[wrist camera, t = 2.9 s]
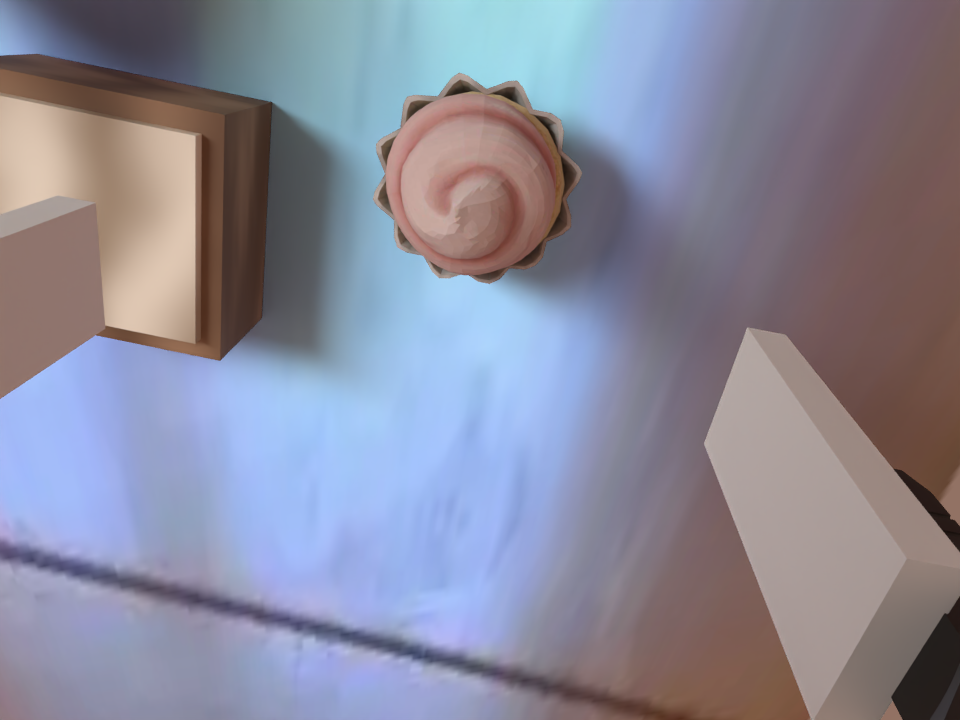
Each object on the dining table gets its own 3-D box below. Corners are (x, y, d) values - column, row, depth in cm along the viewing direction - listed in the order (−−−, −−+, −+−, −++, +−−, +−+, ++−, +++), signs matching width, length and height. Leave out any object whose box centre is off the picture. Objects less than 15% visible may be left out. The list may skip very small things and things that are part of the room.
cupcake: (499, 23, 32) (482, 20, 23) (610, 184, 35) (633, 237, 26) (354, 148, 35) (290, 188, 26) (467, 287, 38) (444, 366, 29)
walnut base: (58, 276, 40) (-22, 317, 34) (37, 53, 35) (-62, 58, 29) (261, 318, 40) (215, 365, 34) (271, 102, 35) (218, 116, 29)
